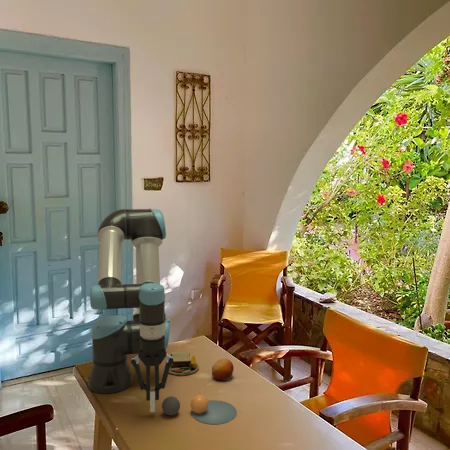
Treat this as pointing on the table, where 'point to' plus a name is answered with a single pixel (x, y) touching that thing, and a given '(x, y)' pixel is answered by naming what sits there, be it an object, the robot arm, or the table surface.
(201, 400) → the orange ball
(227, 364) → the fruit
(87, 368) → the table surface
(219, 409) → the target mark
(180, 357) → the toy sandwich meal
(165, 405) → the dark grey ball
